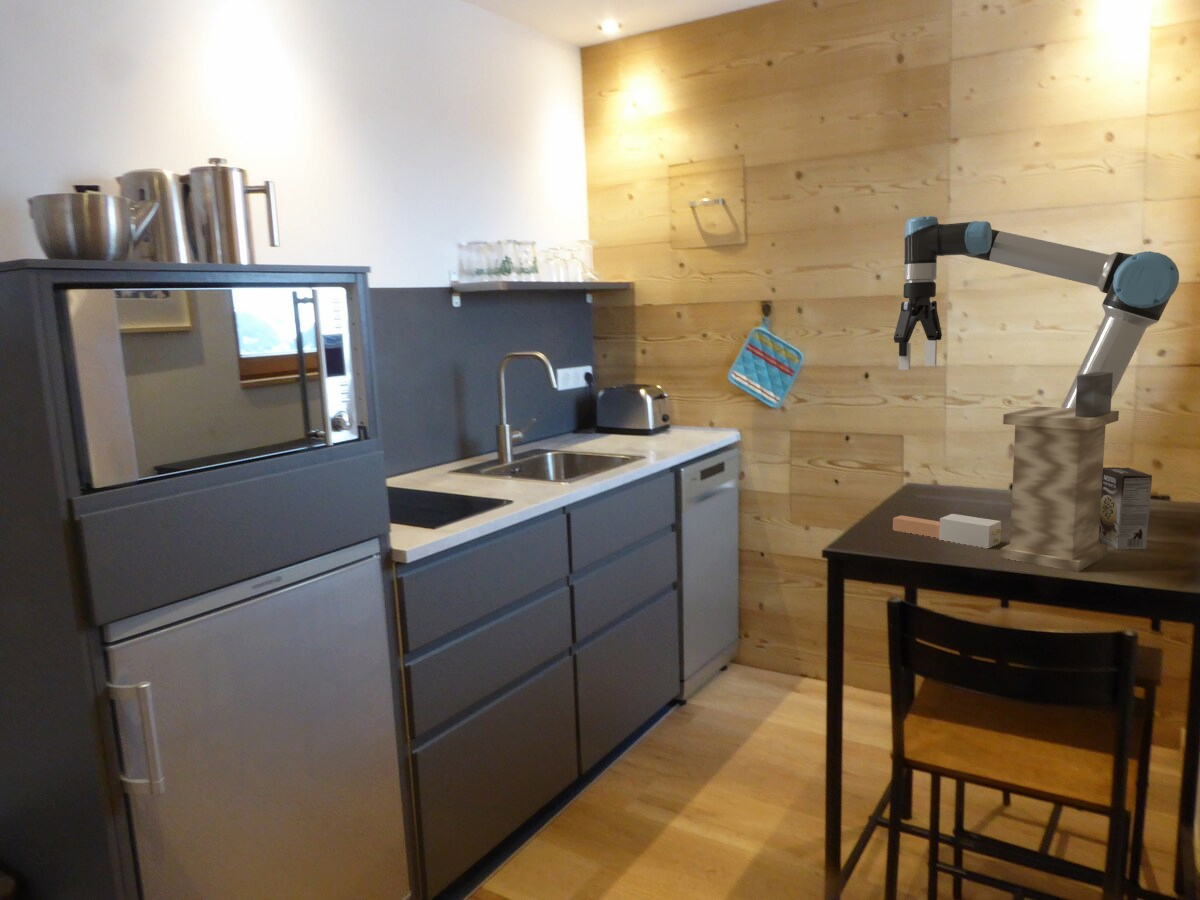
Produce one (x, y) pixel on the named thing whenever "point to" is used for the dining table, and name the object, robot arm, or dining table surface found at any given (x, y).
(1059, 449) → the stand
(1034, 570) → the dining table surface
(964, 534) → the plug
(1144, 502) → the coffee box
